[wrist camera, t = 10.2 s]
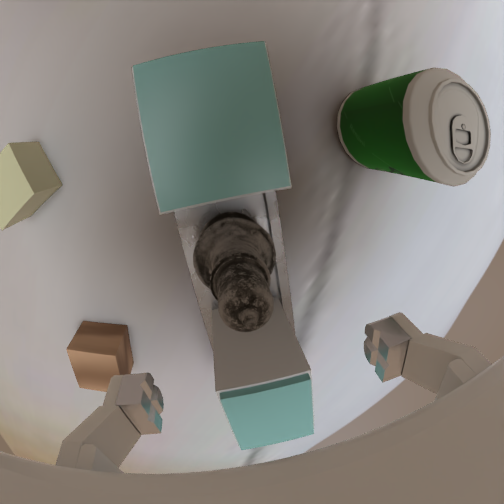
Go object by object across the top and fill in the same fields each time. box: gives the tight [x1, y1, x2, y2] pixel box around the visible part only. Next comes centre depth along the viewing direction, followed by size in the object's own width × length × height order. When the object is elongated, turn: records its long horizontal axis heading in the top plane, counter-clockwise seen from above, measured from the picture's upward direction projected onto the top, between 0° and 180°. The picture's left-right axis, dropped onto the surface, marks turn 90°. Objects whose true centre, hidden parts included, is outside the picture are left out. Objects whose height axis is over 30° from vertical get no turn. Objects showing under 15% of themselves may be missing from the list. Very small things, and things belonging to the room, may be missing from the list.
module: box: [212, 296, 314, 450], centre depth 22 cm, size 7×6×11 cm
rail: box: [174, 191, 295, 349], centre depth 24 cm, size 26×8×2 cm, turn 10°
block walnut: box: [67, 321, 134, 392], centre depth 25 cm, size 5×5×5 cm
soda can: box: [337, 68, 491, 186], centre depth 18 cm, size 8×8×12 cm
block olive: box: [0, 142, 62, 230], centre depth 18 cm, size 5×5×5 cm
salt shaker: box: [193, 212, 276, 332], centre depth 18 cm, size 6×6×12 cm
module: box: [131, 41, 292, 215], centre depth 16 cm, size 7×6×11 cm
